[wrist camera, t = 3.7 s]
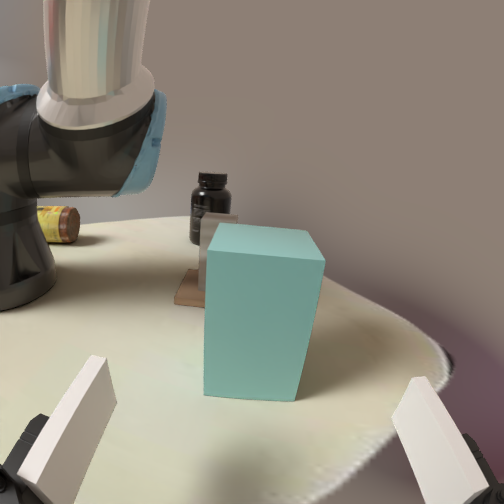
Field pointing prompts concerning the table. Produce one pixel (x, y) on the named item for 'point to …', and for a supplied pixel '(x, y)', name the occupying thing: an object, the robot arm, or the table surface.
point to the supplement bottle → (208, 200)
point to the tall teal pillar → (259, 310)
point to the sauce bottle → (59, 223)
